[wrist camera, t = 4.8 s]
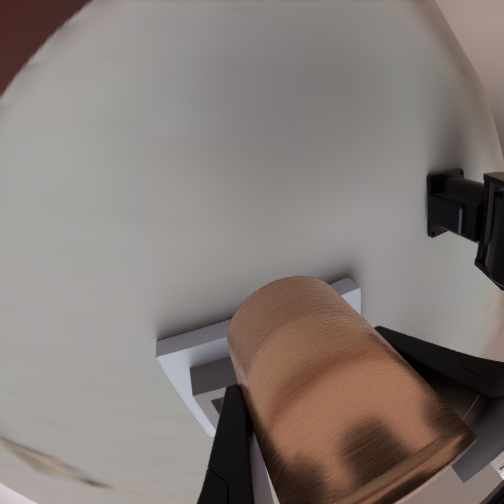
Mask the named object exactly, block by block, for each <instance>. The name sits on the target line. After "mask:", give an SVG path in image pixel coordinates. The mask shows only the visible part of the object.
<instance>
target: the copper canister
mask: <svg viewBox="0 0 504 504" xmlns="http://www.w3.org/2000/svg"><path fill="white" fill-rule="evenodd" d="M227 346H228V350H229V353H230V357H231V360H232V363H233V367H234V370H235V374H236V377H237V380H238V384H239V387H240V390H241V393H242V397H243V400H244V403H245V406H246V409H247V412H248V416H249V419H250V422H251V425H252V428H253V431H254V434H255V437H256V440H257V443H258V446H259V448H260V451H261V454H262V457H263V460H264V463H265V465H266V468H267V471H268V474H269V476H270V479H271V482H272V485H273V487H274V490H275V493H276V495H277V498H278V500H279V503H280V504H401V503H403V502H404V501H406V500H407V499H409V498H410V497H412V496H413V495H415V494H416V493H418V492H419V491H421V490H422V489H423V488H425V487H426V486H427V485H429V484H430V483H431V482H433V481H434V480H435V479H436V478H438V477H439V476H440V475H441V474H443V473H444V472H445V471H446V470H447V469H448V468H450V467H451V466H452V465H453V464H454V463H455V462H456V461H457V460H458V459H459V458H460V457H461V456H463V455H464V454H465V453H466V451H467V450H468V449H469V448H470V447H471V446H472V445H473V444H474V443H475V442H476V440H477V439H478V437H477V436H476V435H475V434H474V433H473V431H472V430H471V429H470V428H469V427H468V426H467V425H466V424H465V423H464V421H463V420H462V419H461V418H460V417H459V416H458V415H457V414H456V413H455V412H454V410H453V409H452V408H451V407H450V406H449V405H448V404H447V403H446V402H445V401H444V400H443V399H442V398H441V397H440V395H439V394H438V393H437V392H436V391H435V390H434V389H433V388H432V387H431V386H430V385H429V384H428V383H427V382H426V381H425V380H424V379H423V378H422V377H421V375H420V374H419V373H418V372H417V371H416V370H415V369H414V368H413V367H412V366H411V365H410V364H409V363H408V362H407V361H406V360H405V359H404V358H403V357H402V356H401V355H400V354H399V353H398V352H397V351H396V350H395V349H394V348H393V347H392V346H391V345H390V344H389V343H388V342H387V341H386V340H385V339H384V338H383V337H382V336H381V335H380V334H379V333H378V332H377V331H376V330H375V329H374V328H373V327H372V326H371V325H370V324H369V323H368V322H367V321H366V320H365V319H364V318H363V317H362V316H361V315H360V314H359V313H358V312H357V311H356V310H355V309H354V308H353V307H352V306H351V305H350V304H349V303H348V302H347V301H346V300H345V299H344V298H342V297H341V296H340V295H339V294H338V293H337V292H336V291H335V290H334V289H333V288H332V287H331V286H330V285H329V284H327V283H326V282H324V281H322V280H319V279H317V278H313V277H306V276H294V277H288V278H284V279H280V280H277V281H274V282H272V283H269V284H268V285H266V286H264V287H262V288H260V289H259V290H257V291H256V292H254V293H253V294H252V295H251V296H250V297H248V298H247V299H246V300H245V301H244V302H243V303H242V304H241V305H240V307H239V308H238V310H237V311H236V312H235V314H234V316H233V318H232V320H231V322H230V325H229V328H228V332H227Z"/></svg>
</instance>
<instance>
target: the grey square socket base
mask: <svg viewBox="0 0 504 504" xmlns="http://www.w3.org/2000/svg"><path fill="white" fill-rule="evenodd" d="M329 285H330V286H331V287H332V288H333V289H334V290H335V291H336V292H337V293H338V294H339V295H340V296H341V297H342V298H344V299H345V300H346V301H347V302H348V303H349V304H350V305H351V306H352V307H353V308H354V309H355V310H356V311H357V312H358V313H359V314H360V315H361V291H360V287H359V286H358V285H357V284H356V283H355V282H353V281H352V280H351V279H350V278H348V277H347V278H345V279H342V280H339V281H337V282H334V283H332V284H329ZM231 320H232V319H230V320H226V321H223V322H220V323H217V324H214V325H210V326H207V327H204V328H201V329H197V330H194V331H191V332H187V333H184V334H180V335H177V336H173V337H170V338H166V339H162V340H159V341H157V344H156V358H157V360H158V361H159V363H160V365H161V366H162V368H163V370H164V371H165V373H166V374H167V376H168V378H169V379H170V381H171V382H172V384H173V385H174V387H175V388H176V390H177V391H178V393H179V394H180V396H181V397H182V399H183V400H184V402H185V403H186V404H187V406H188V407H189V409H190V410H191V412H192V413H193V414H194V416H195V417H196V418H197V420H198V421H199V422H200V424H201V425H202V426H203V428H204V429H205V430H206V432H207V433H208V434H209V436H210V437H211V436H215V433H216V429H217V424H218V420H219V416H220V411H221V407H222V403H223V397H224V394H225V389H226V387H227V386H228V385H231V384H235V383H238V380H237V377H236V374H235V370H234V367H233V363H232V360H231V357H230V353H229V350H228V346H227V332H228V328H229V325H230V322H231Z"/></svg>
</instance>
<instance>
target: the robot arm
mask: <svg viewBox="0 0 504 504" xmlns="http://www.w3.org/2000/svg"><path fill="white" fill-rule="evenodd" d="M483 180H484V183H480V182H476V181H472V180H469V179H465V178H464V172H463V169H461V168H456V169H452V170H447V171H443V172H439V173H434V174H430V175H429V176H428V178H427V183H428V236H429V237H431V238H434V237H436V236H438V235H440V234H442V233H444V232H447V231H450V232H453V233H455V234H457V235H460V236H462V237H464V238H466V239H468V240H471V241H473V242H475V243H477V244H478V250H477V256H476V258H475V263H474V264H475V265H476V266H477V267H478V268H479V269H480V270H481V271H482V272H483V273H484V274H485V275H486V276H487V277H488V278H489V279H491V280H492V281H493V282H494V283H495V284H496V285H497V286H498V287H499V288H500V289H501V290H503V291H504V172H493V173H484V177H483ZM374 329H375V330H376V331H377V332H378V333H379V334H380V335H381V336H382V337H383V338H384V339H385V340H386V341H387V342H388V343H389V344H390V345H391V346H392V347H393V348H394V349H395V350H396V351H397V352H398V353H399V354H400V355H401V356H402V357H403V358H404V359H405V360H406V361H407V362H408V363H409V364H410V365H411V366H412V367H413V368H414V369H415V370H416V371H417V372H418V373H419V374H420V375H421V377H422V378H423V379H424V380H425V381H426V382H427V383H428V384H429V385H430V386H431V387H432V388H433V389H434V390H435V391H436V392H437V393H438V394H439V395H440V397H441V398H442V399H443V400H444V401H445V402H446V403H447V404H448V405H449V406H450V407H451V408H452V409H453V410H454V412H455V413H456V414H457V415H458V416H459V417H460V418H461V419H462V420H463V421H464V423H465V424H466V425H467V426H468V427H469V428H470V429H471V430H472V431H473V433H474V434H475V435H476V436H477V437H478V439H477V440H476V442H475V443H474V444H473V445H472V446H471V447H470V448H469V449H468V450H467V451H466V453H465V454H464V455H463V456H461V457H460V458H459V459H458V460H457V461H456V462H455V463H454V464H453V465H452V468H453V469H454V471H455V472H456V473H457V475H458V476H459V478H460V479H461V481H462V482H463V483H466V482H467V481H468V480H470V479H471V478H472V477H474V476H475V475H476V474H477V473H479V472H480V471H481V470H483V469H484V468H485V467H486V466H487V465H488V464H491V465H492V466H493V467H494V469H495V470H496V471H497V472H498V473H499V474H500V476H501V477H502V478H503V480H502V482H501V483H500V484H499V485H498V486H497V487H496V488H495V489H494V490H493V491H492V492H491V493H490V494H489V495H488V496H487V497H486V498H485V499H484V500H483V501H482V502H481V503H480V504H504V362H500V361H494V360H489V359H484V358H479V357H475V356H471V355H468V354H464V353H461V352H458V351H457V352H456V351H454V350H451V349H448V348H445V347H442V346H439V345H436V344H433V343H430V342H426V341H423V340H420V339H417V338H414V337H411V336H408V335H405V334H402V333H399V332H397V331H394V330H391V329H388V328H385V327H382V326H376V327H374ZM208 468H209V469H207V471H206V475H205V479H204V483H203V487H202V490H201V493H200V496H199V499H198V501H197V504H274V502H273V498H272V494H271V490H270V485H269V481H268V477H267V473H266V468H265V464H264V460H263V457H262V454H261V451H260V448H259V446H258V443H257V440H256V437H255V434H254V431H253V428H252V425H251V422H250V419H249V416H248V412H247V409H246V406H245V403H244V400H243V397H242V393H241V390H240V387H239V384H238V383H235V384H231V385H228V386H227V387H226V389H225V394H224V398H223V403H222V407H221V411H220V416H219V420H218V424H217V429H216V433H215V437H214V442H213V446H212V450H211V454H210V459H209V463H208Z"/></svg>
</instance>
